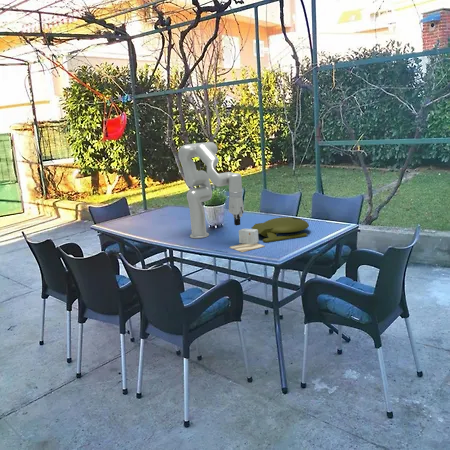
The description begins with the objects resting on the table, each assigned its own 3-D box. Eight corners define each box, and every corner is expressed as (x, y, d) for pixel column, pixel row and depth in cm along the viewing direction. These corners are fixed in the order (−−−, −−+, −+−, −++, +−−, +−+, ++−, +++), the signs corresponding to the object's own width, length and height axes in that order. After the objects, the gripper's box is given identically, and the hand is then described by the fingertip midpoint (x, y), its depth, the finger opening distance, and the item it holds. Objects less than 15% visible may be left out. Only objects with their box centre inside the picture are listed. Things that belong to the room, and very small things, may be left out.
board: (229, 247, 280) (229, 246, 279) (251, 242, 287) (251, 241, 287) (242, 252, 268) (241, 251, 268) (265, 246, 275) (265, 245, 275)
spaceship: (264, 244, 283) (263, 228, 281) (248, 232, 312) (247, 218, 310) (317, 235, 292) (317, 220, 289) (297, 225, 321) (296, 211, 318)
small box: (243, 240, 290) (258, 242, 285) (239, 243, 285) (254, 244, 280) (242, 228, 288) (258, 229, 283) (238, 230, 283) (254, 231, 278)
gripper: (223, 193, 282) (225, 223, 286) (237, 197, 269) (238, 228, 274) (234, 192, 285) (236, 221, 290) (248, 195, 273) (249, 226, 278)
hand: (237, 224), depth 282 cm, fingers closed
